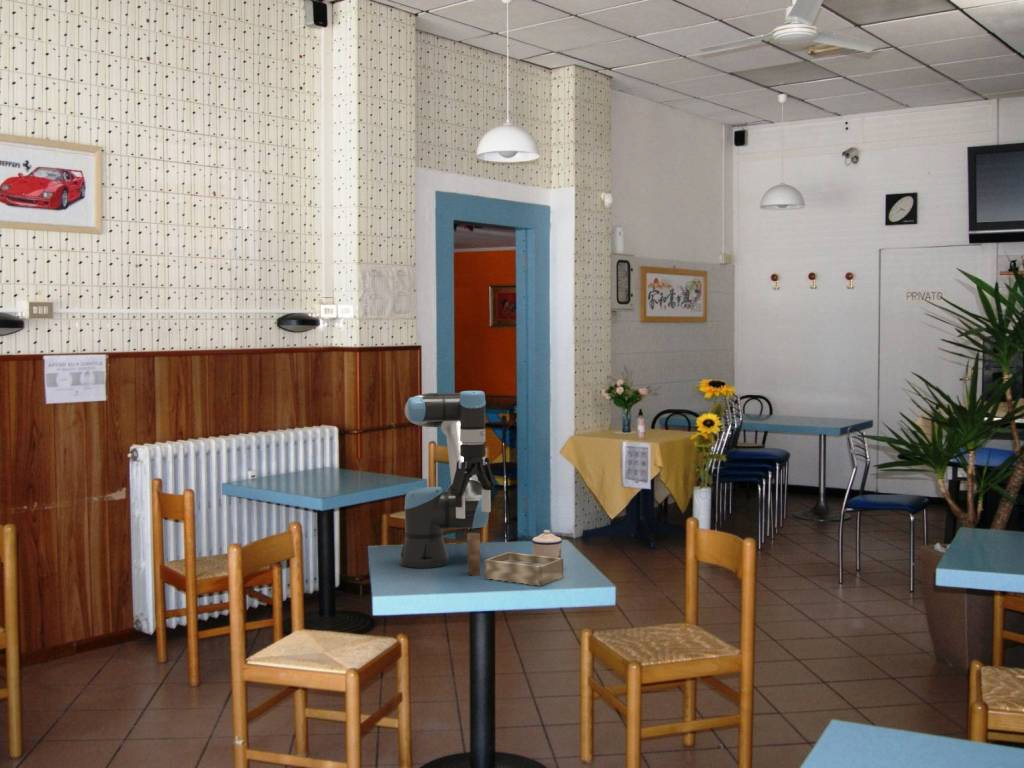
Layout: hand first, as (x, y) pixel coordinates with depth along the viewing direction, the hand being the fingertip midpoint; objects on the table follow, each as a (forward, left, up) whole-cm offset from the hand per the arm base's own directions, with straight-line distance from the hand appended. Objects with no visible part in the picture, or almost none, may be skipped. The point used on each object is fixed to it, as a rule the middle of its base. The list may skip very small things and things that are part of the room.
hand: (473, 514), depth 311 cm
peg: (0, 0, -18) cm, 18 cm away
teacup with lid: (+14, +19, -18) cm, 29 cm away
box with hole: (+15, +3, -18) cm, 24 cm away
